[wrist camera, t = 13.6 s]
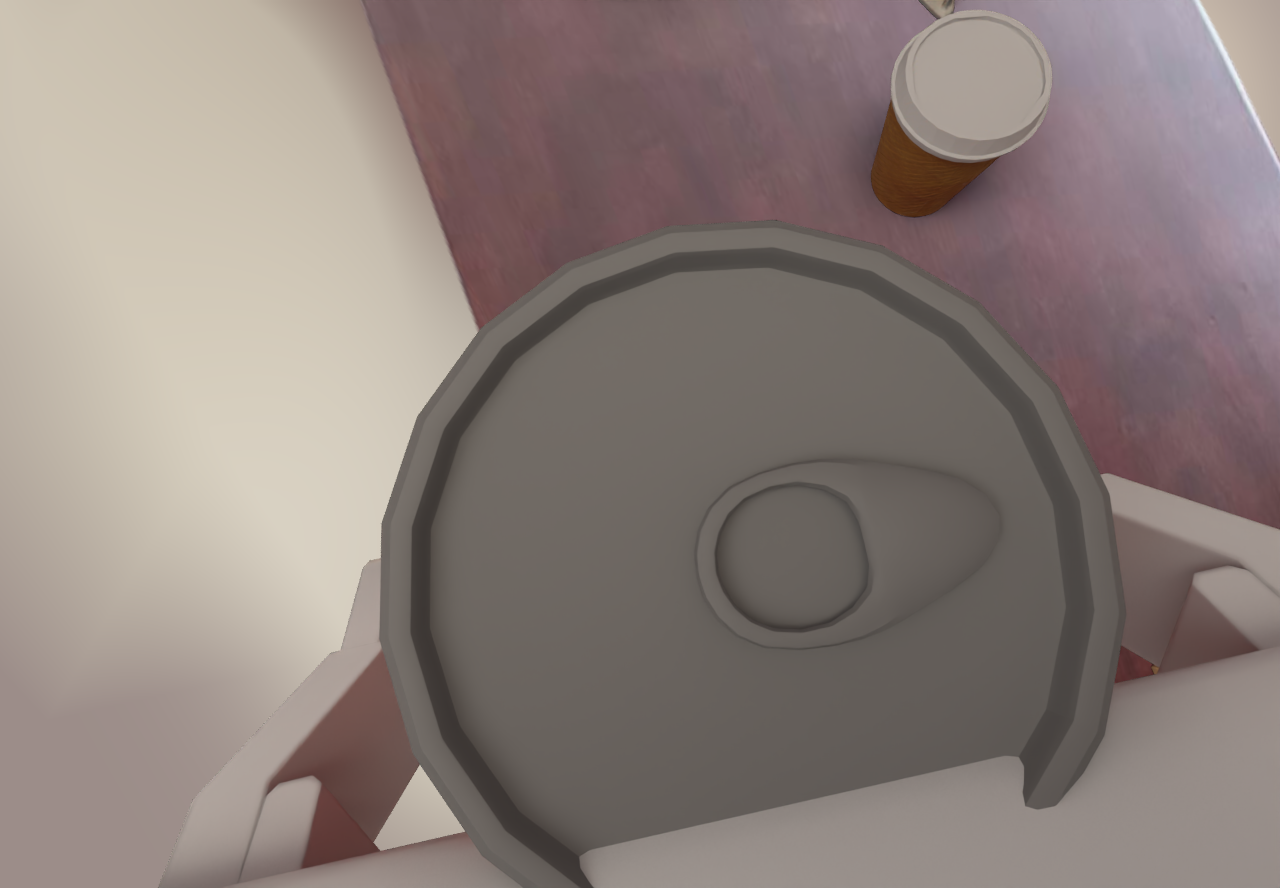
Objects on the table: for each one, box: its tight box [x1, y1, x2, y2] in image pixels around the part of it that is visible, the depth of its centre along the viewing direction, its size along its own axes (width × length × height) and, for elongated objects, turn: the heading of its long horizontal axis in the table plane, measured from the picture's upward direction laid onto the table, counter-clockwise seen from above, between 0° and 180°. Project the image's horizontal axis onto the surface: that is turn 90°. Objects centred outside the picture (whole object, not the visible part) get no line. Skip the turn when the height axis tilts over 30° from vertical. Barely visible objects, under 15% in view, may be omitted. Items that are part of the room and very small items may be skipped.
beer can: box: [379, 220, 1127, 888], centre depth 11 cm, size 7×7×12 cm
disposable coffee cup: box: [871, 10, 1052, 217], centre depth 49 cm, size 10×10×12 cm
